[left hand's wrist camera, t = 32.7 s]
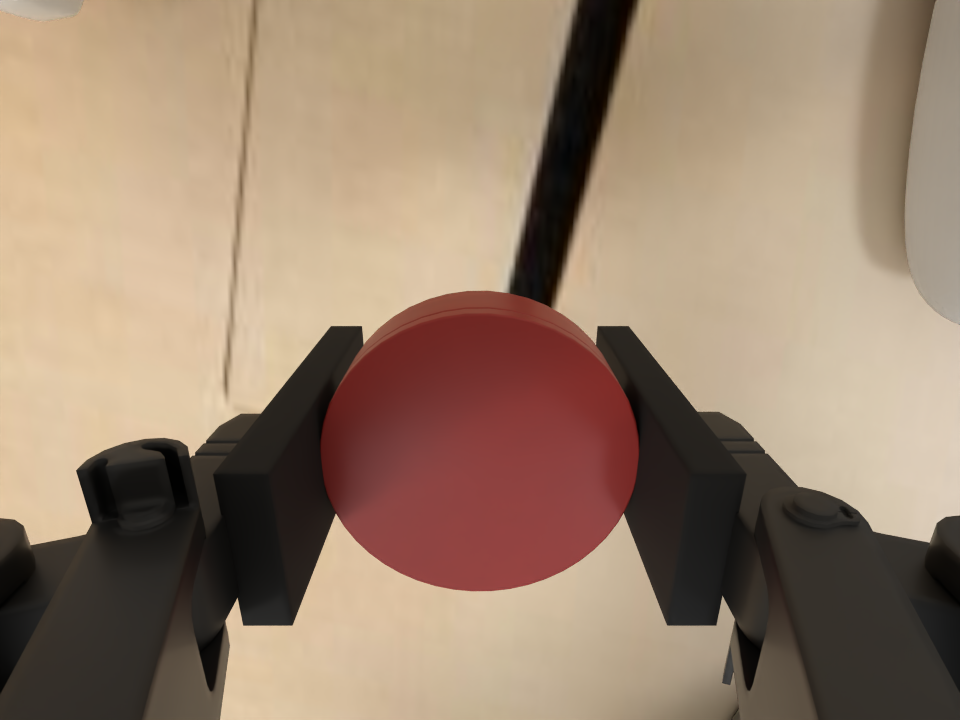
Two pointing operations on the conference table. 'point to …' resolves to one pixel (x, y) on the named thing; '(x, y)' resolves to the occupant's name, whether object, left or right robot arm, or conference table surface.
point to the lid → (479, 443)
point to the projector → (936, 168)
